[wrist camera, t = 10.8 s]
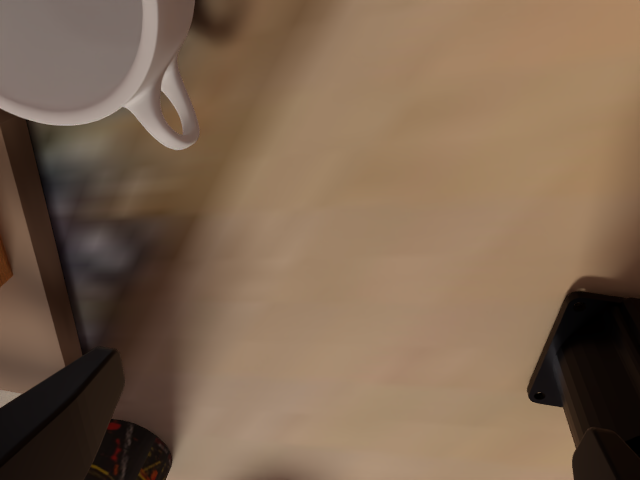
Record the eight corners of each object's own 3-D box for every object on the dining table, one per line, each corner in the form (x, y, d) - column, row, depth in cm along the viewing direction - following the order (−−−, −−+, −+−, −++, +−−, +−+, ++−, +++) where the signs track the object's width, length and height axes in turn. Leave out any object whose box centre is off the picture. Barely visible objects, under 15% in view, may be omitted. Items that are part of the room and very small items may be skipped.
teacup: (-41, -80, 18) (-195, -78, 13) (110, -250, 15) (-21, -324, 10) (151, 158, 22) (83, 222, 17) (302, 61, 19) (268, 108, 14)
